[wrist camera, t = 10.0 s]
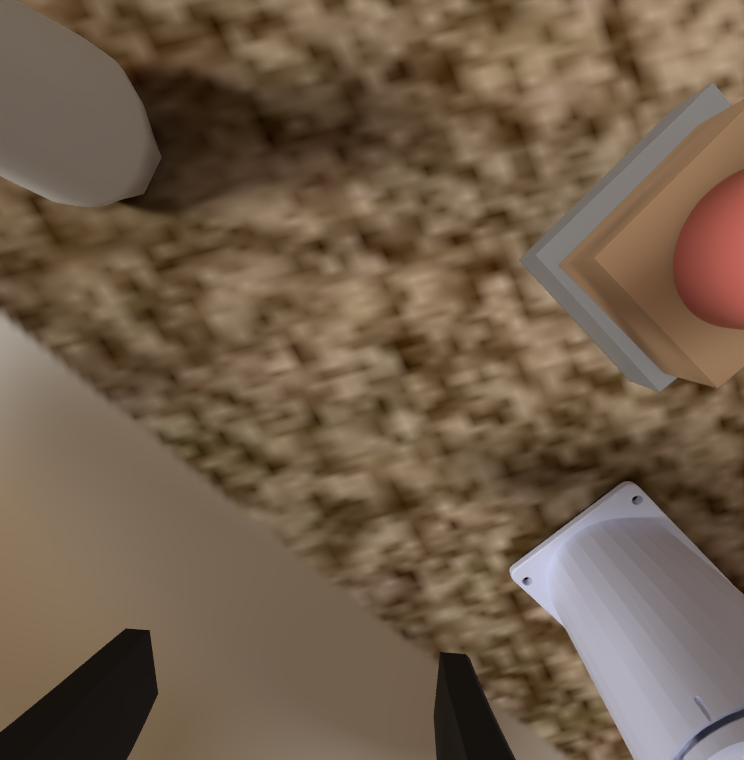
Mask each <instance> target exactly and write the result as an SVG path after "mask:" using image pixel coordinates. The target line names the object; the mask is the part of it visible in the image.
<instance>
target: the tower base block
mask: <svg viewBox="0 0 744 760" xmlns="http://www.w3.org/2000/svg"><path fill="white" fill-rule="evenodd" d="M729 107H731V105H730V104H729V102H728V101H727V100H726V98H725V97H724V96H723V94H722V93H721V92H720V91H719V89H718V88H717V87H716V85H715V84H714V83H712V84H710V85H709V86H707V87H706V88H704V89H703V90H701V91H700V92H698V93H697V94H695V95H694V96H692V97H691V98H689V99H688V100H686V101H685V102H683V103H682V104H680V105H679V106H677V107H676V108H674V109H673V110H671V111H670V112H669V113H668V114H667V115H666V116H665V117H664V118H663V119H662V120H661V121H660V122H659V123H658V124H657V125H656V126H655V127H654V128H653V129H652V130H651V131H650V132H649V133H648V134H647V135H646V136H645V137H644V138H643V139H642V140H641V141H640V142H639V143H637V144H636V145H635V146H634V147H633V148H632V149H631V150H630V151H629V152H628V153H627V154H626V155H625V156H624V157H623V158H622V159H621V160H620V161H619V162H618V163H617V164H616V165H615V166H614V167H613V168H612V169H611V170H610V171H609V172H608V173H607V174H606V175H605V176H604V177H603V178H602V179H601V180H600V181H599V182H598V183H597V184H596V185H595V186H593V187H592V188H591V189H590V190H589V191H588V192H587V193H586V194H585V195H584V196H583V197H582V198H581V199H580V200H579V201H578V202H577V203H576V204H575V205H574V206H573V207H572V208H571V209H570V210H569V211H568V212H567V213H566V214H565V215H564V216H563V217H562V218H561V219H560V220H559V221H558V222H557V223H556V224H555V225H554V226H553V227H552V228H551V229H550V230H548V231H547V232H546V233H545V234H544V235H543V236H542V237H541V238H540V239H539V240H538V241H537V242H536V243H535V244H534V245H533V246H532V247H531V248H530V249H529V250H528V251H527V252H526V253H525V254H524V255H523V256H522V257H521V258H520V259H519V261H520V262H521V263H522V264H523V265H524V266H525V267H526V269H527V270H528V271H529V272H530V273H531V274H532V275H533V276H534V277H535V278H536V279H537V281H538V282H539V283H540V284H541V285H542V286H543V287H544V288H545V289H546V290H547V291H548V292H549V294H550V295H551V296H552V297H553V298H554V299H555V300H556V301H557V302H558V303H559V304H560V306H561V307H562V308H563V309H564V310H565V311H566V312H567V313H568V314H569V315H570V316H571V318H572V319H573V320H574V321H575V322H576V323H577V324H578V325H579V326H580V327H581V328H582V329H583V331H584V332H585V333H586V334H587V335H588V336H589V337H590V338H591V339H592V340H593V341H594V343H595V344H596V345H597V346H598V347H599V348H600V349H601V350H602V351H603V352H604V353H605V355H606V356H607V357H608V358H609V359H610V360H611V361H612V362H613V363H614V364H615V365H616V366H617V368H618V369H619V370H620V371H621V372H622V373H623V374H624V375H625V376H626V377H627V378H628V380H629V381H631V382H633V383H636V384H639V385H642V386H645V387H648V388H650V389H653V390H656V391H659V392H660V391H661V390H663V389H664V388H665V387H666V386H668V385H669V384H670V383H671V382H673V381H674V380H675V379H676V378H678V377H675V376H671V375H667V374H664V373H663V372H662V371H661V370H660V369H659V368H658V367H657V366H656V365H655V364H654V363H653V362H652V361H651V360H650V359H649V358H648V356H647V355H646V354H645V353H644V352H643V351H642V350H641V349H640V348H639V347H638V346H637V345H636V344H635V343H634V342H633V341H632V340H631V339H630V338H629V337H628V336H627V335H626V334H625V333H624V332H623V331H622V330H621V329H620V328H619V327H618V326H617V325H616V324H615V323H614V322H613V320H612V319H611V318H610V317H609V316H608V315H607V314H606V313H605V312H604V311H603V310H602V309H601V308H600V307H599V306H598V305H597V304H596V303H595V302H594V301H593V300H592V299H591V298H590V297H589V296H588V295H587V294H586V293H585V292H584V291H583V290H582V289H581V288H580V287H579V286H578V285H577V283H576V282H575V281H574V280H573V279H572V278H571V277H570V276H569V275H568V274H567V273H566V272H565V271H564V270H563V269H562V268H561V267H560V266H559V264H560V263H561V262H562V261H563V260H564V259H565V258H566V257H567V256H568V255H569V254H570V253H571V252H572V251H573V250H574V249H575V248H576V247H577V246H578V245H579V244H580V243H581V242H582V241H583V240H584V239H585V238H586V237H587V236H588V235H589V234H590V233H591V232H592V231H593V230H594V229H595V228H596V227H597V226H598V225H599V224H600V223H601V222H602V221H603V220H604V219H605V218H606V217H607V216H608V215H609V214H610V213H611V212H612V211H613V210H614V209H615V208H616V207H617V206H618V205H619V204H620V203H621V202H622V201H623V200H624V199H625V198H626V197H627V196H628V195H629V194H630V193H631V192H632V191H633V190H634V189H635V188H636V187H637V186H638V185H639V184H640V183H641V182H642V181H643V180H644V179H645V178H646V177H647V176H648V175H649V174H650V173H651V172H652V171H653V170H654V169H655V168H656V167H657V165H658V164H659V163H660V162H661V161H662V160H663V159H664V158H665V157H666V156H667V155H668V154H669V153H670V152H671V151H672V150H673V149H674V148H675V147H676V146H677V145H678V144H679V143H680V142H681V141H682V140H683V139H684V138H685V137H686V136H687V135H688V134H689V133H690V132H691V131H692V130H693V129H694V128H695V127H696V126H697V125H699V124H701V123H703V122H704V121H706V120H708V119H710V118H711V117H713V116H715V115H717V114H719V113H720V112H722V111H724V110H726V109H727V108H729Z"/></svg>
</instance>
